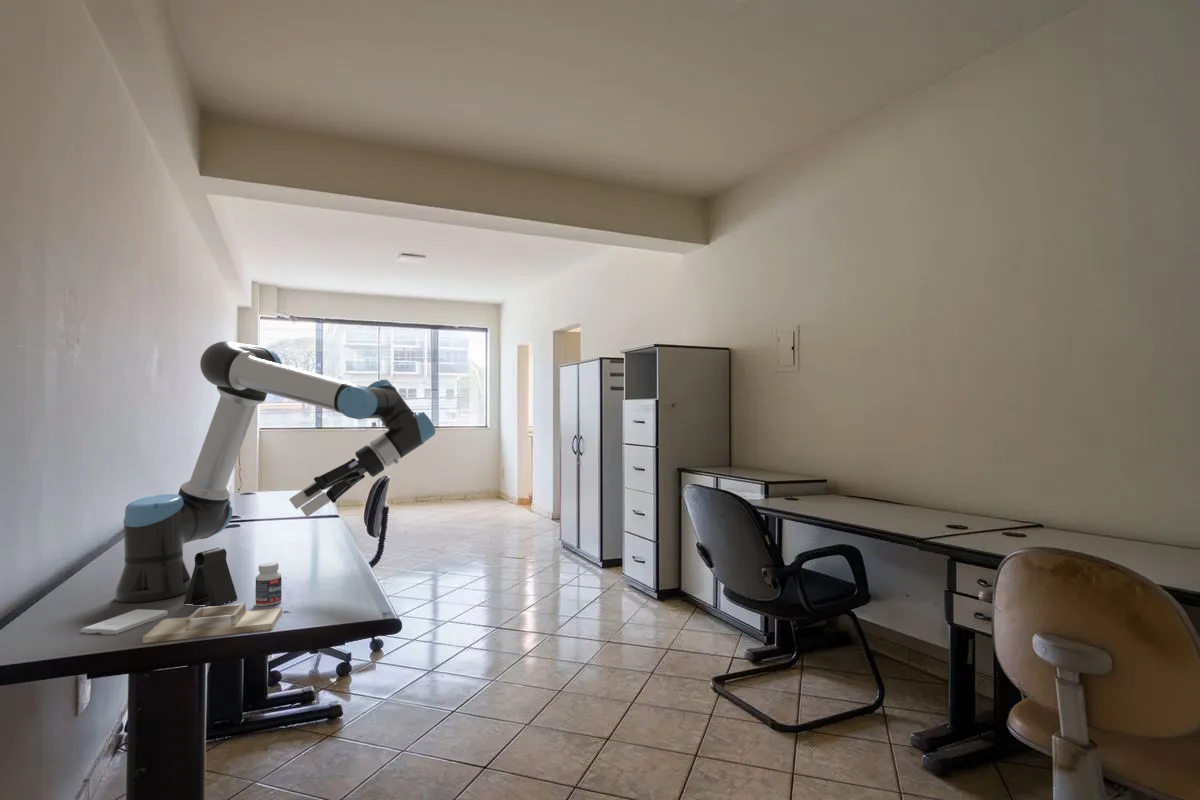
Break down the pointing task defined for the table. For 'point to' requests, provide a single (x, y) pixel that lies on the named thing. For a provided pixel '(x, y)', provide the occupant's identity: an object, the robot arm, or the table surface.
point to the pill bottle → (268, 585)
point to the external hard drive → (125, 621)
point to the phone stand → (211, 580)
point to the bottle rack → (214, 623)
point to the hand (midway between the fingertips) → (298, 508)
